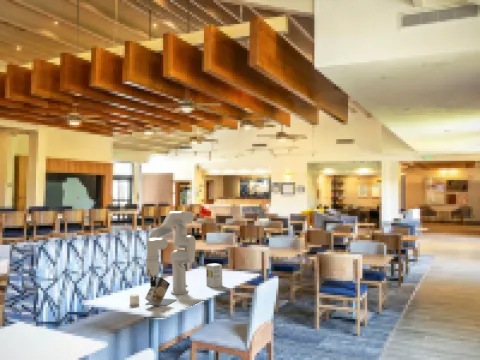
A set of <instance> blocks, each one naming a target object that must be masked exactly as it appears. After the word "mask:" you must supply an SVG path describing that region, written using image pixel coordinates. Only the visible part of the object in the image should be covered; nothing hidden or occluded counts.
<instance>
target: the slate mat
mask: <svg viewBox="0 0 480 360" xmlns="http://www.w3.org/2000/svg"><path fill="white" fill-rule="evenodd" d="M176 301H178V299H177V298H176V299H174V298H163V300H162V302H161V304H160V306H162V307H167V306H169V305H171V304H172V303H174V302H176ZM145 305H148V306H149V305H150V306H154V305H153V304H152V303H150V302H149V301H148V302H146V303H145Z"/></svg>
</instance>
